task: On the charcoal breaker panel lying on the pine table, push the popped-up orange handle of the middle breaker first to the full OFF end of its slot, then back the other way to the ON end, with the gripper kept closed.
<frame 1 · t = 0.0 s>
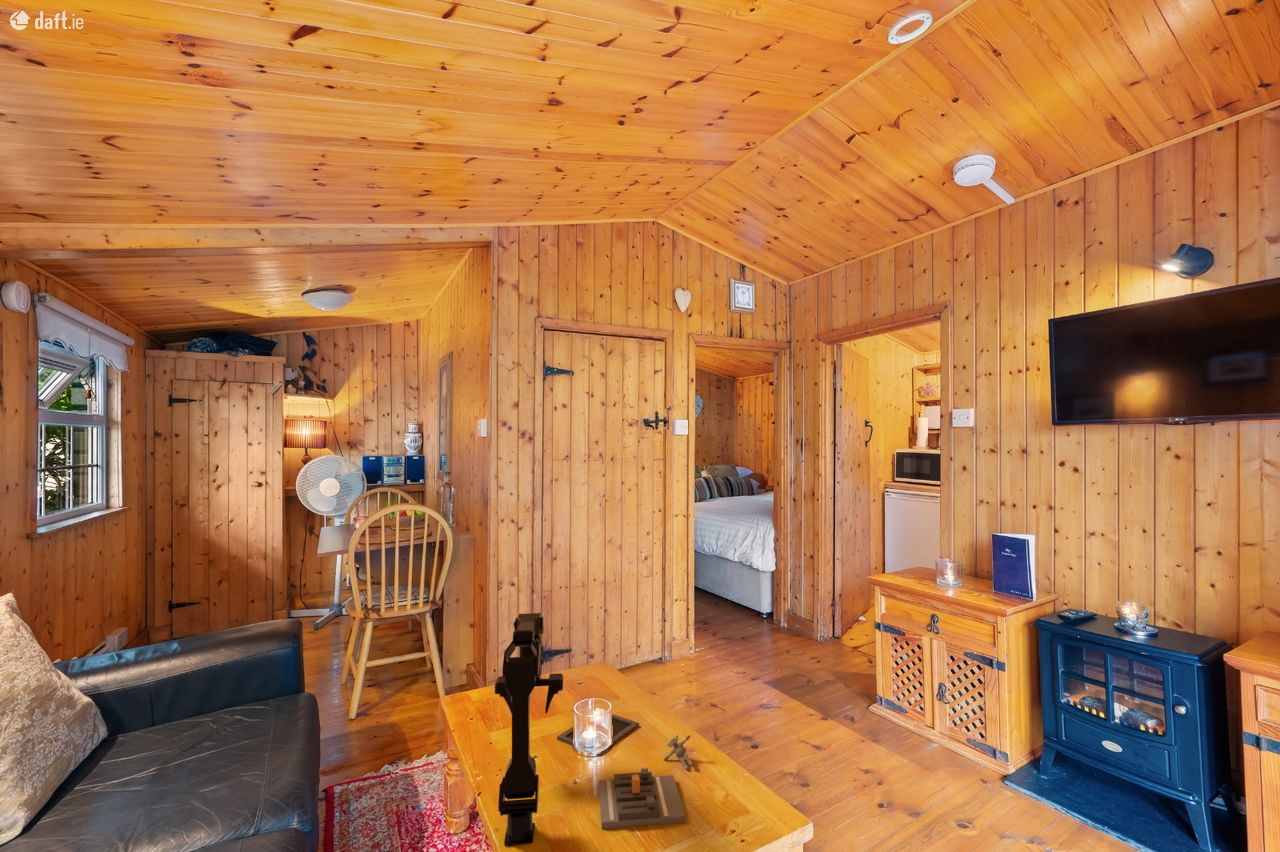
hand: (529, 714, 163), 15 cm above the table, fingers open, 9 cm apart
panel: (639, 803, 146), on the table
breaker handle: (635, 783, 146), point 5 cm above the table, slide at 0.0 cm
grey toy figurine: (682, 762, 165), on the table
picture frame: (598, 735, 181), on the table
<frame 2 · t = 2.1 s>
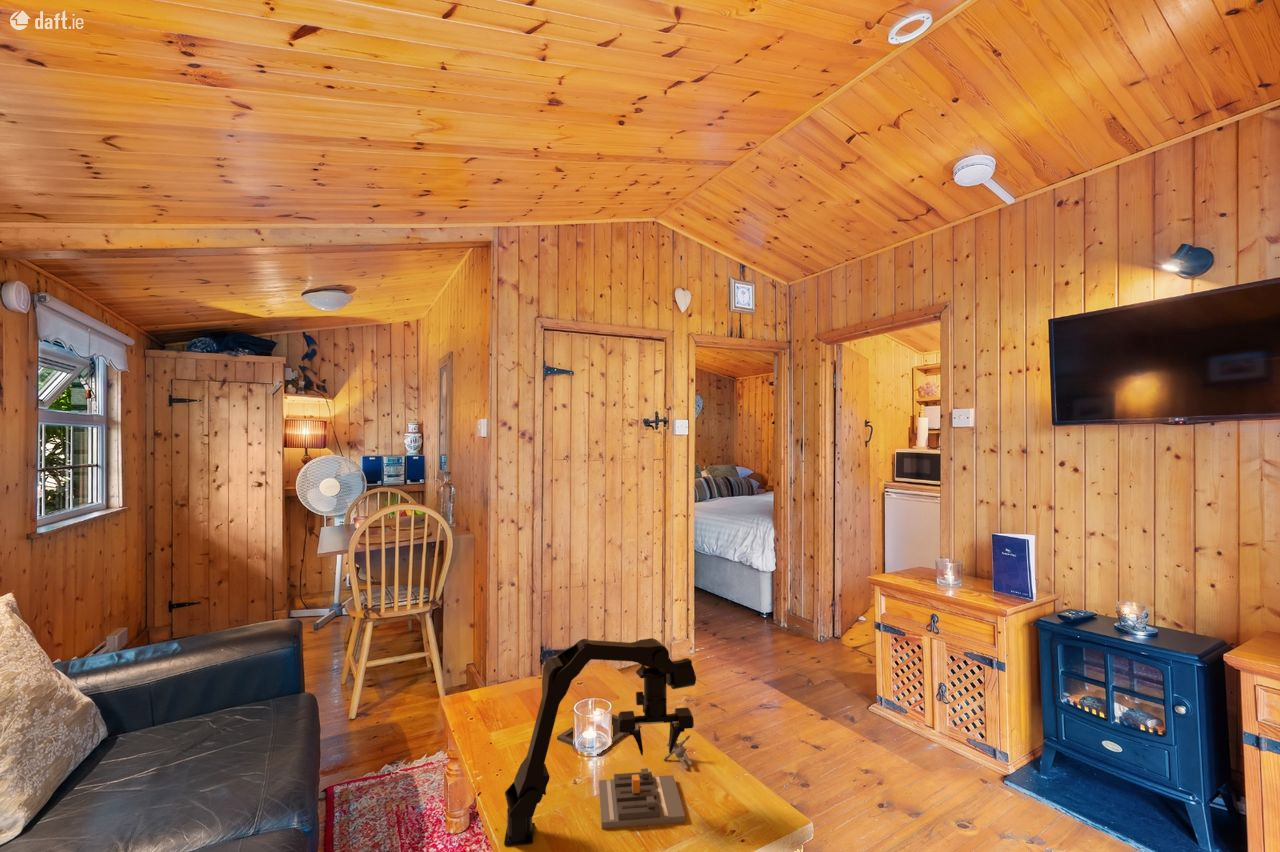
hand: (655, 753, 146), 12 cm above the table, fingers open, 7 cm apart
nothing on the table moved.
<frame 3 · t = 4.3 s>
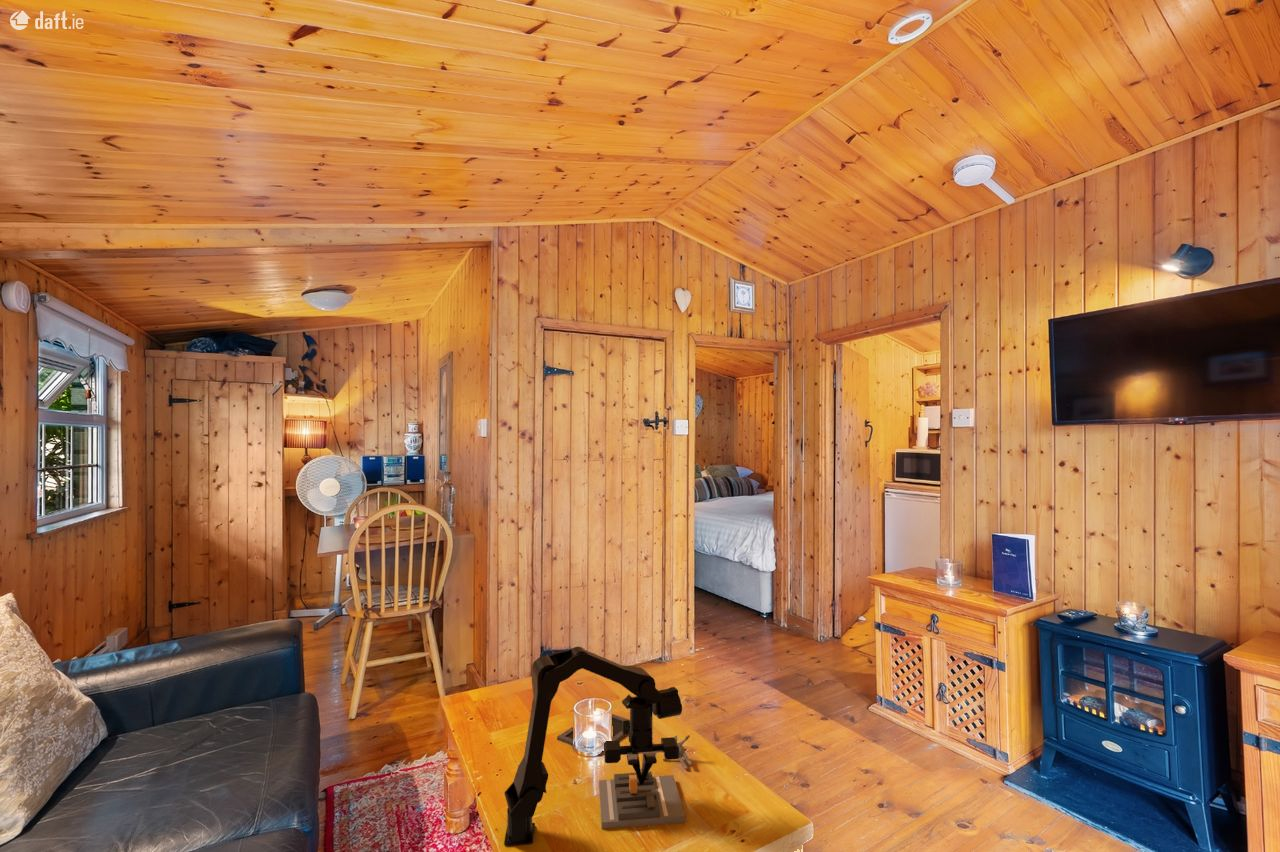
hand: (641, 783, 146), 5 cm above the table, fingers closed
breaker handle: (633, 784, 146), point 5 cm above the table, slide at 0.7 cm, touching gripper
everything else where it was.
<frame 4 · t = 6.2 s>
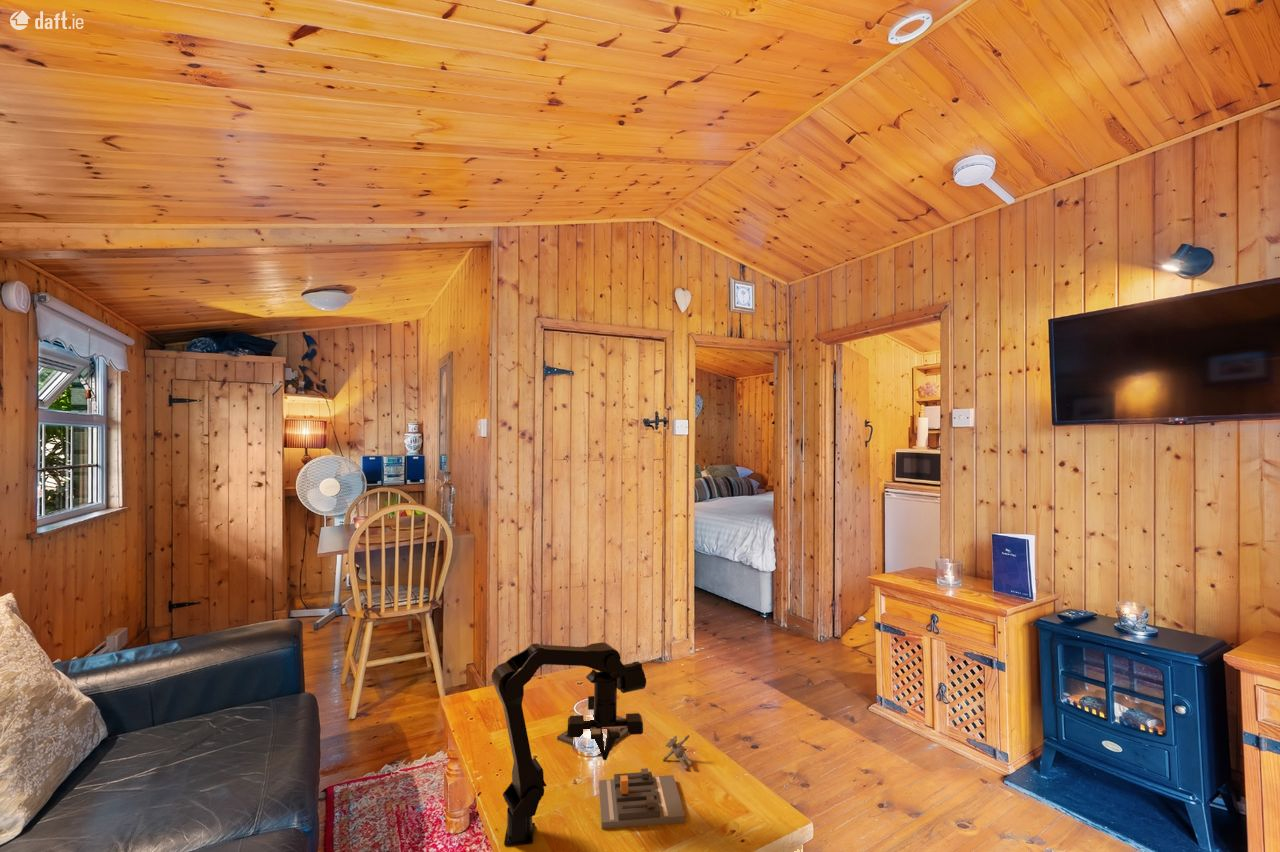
hand: (604, 759, 145), 12 cm above the table, fingers closed
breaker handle: (624, 784, 145), point 5 cm above the table, slide at 2.9 cm
everything else where it was.
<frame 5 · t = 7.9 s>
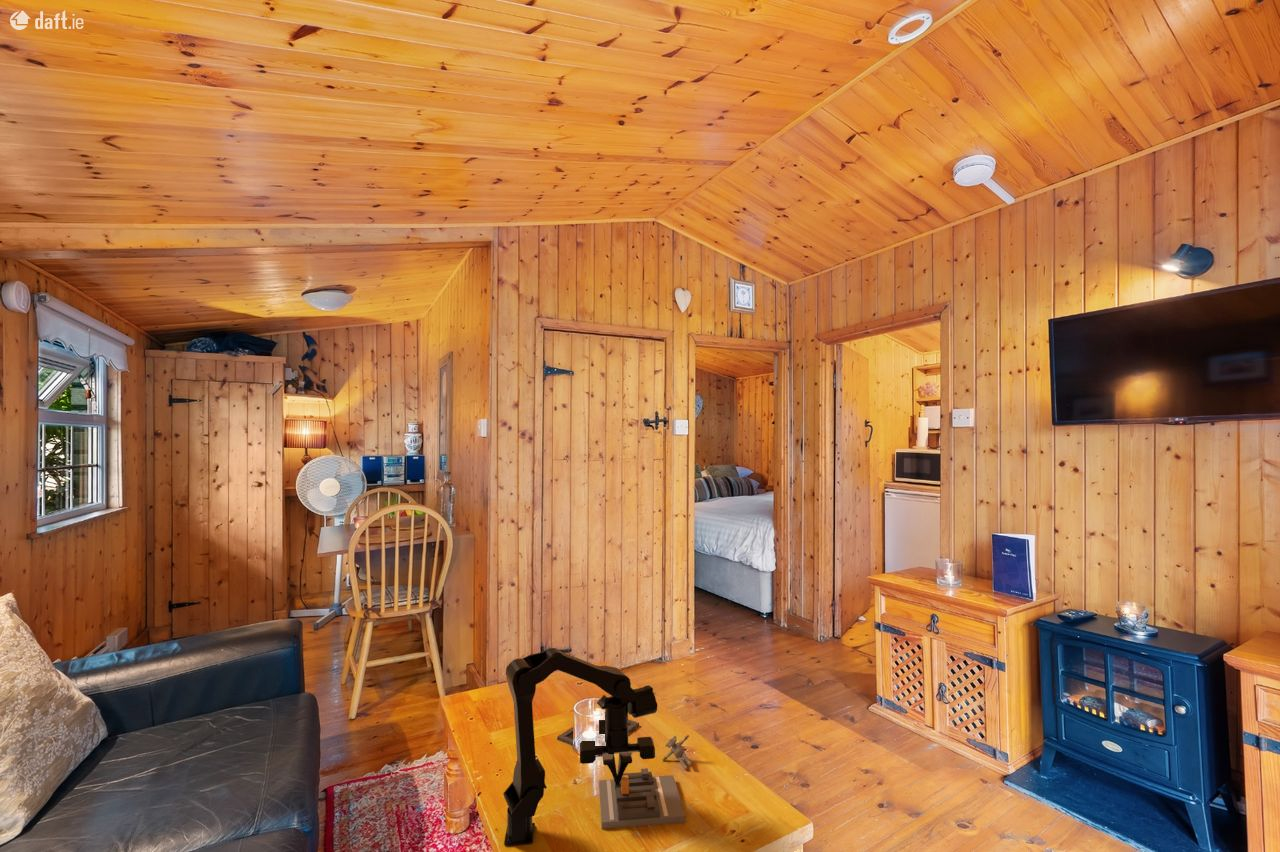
hand: (617, 783, 145), 5 cm above the table, fingers closed
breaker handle: (624, 784, 145), point 5 cm above the table, slide at 2.8 cm, touching gripper
everything else where it was.
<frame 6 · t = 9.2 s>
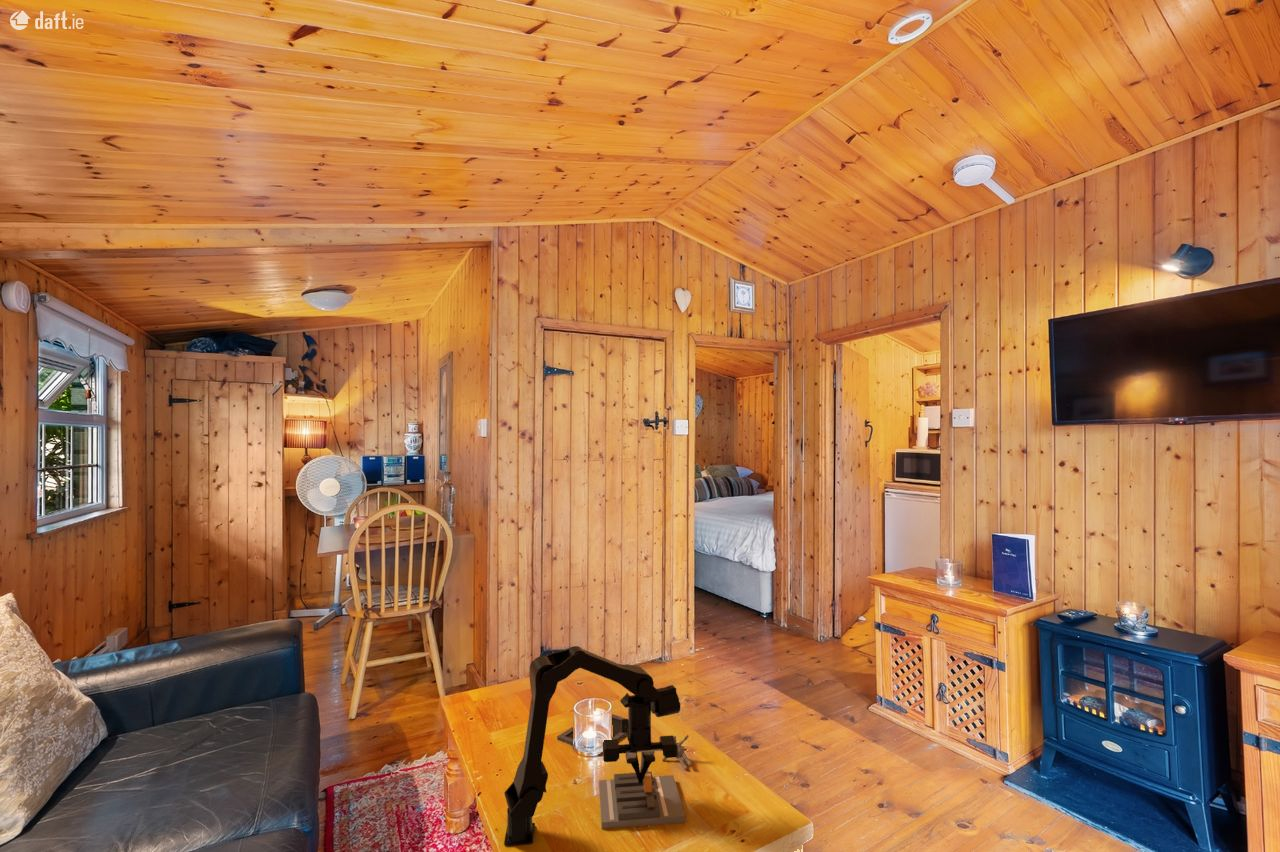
hand: (640, 782, 146), 5 cm above the table, fingers closed
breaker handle: (647, 783, 146), point 5 cm above the table, slide at -3.0 cm, touching gripper
everything else where it was.
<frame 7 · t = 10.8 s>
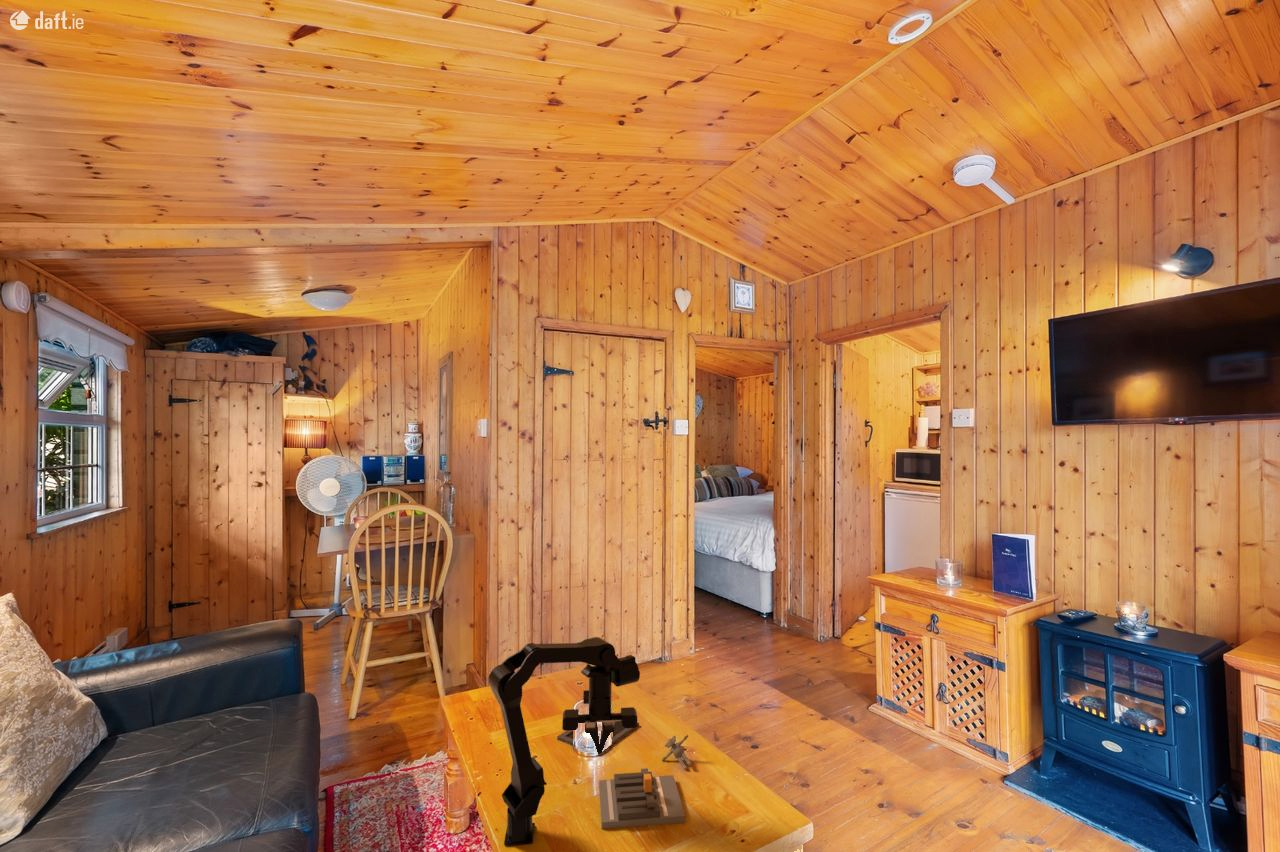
hand: (599, 752, 146), 13 cm above the table, fingers closed
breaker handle: (647, 783, 146), point 5 cm above the table, slide at -3.0 cm
everything else where it was.
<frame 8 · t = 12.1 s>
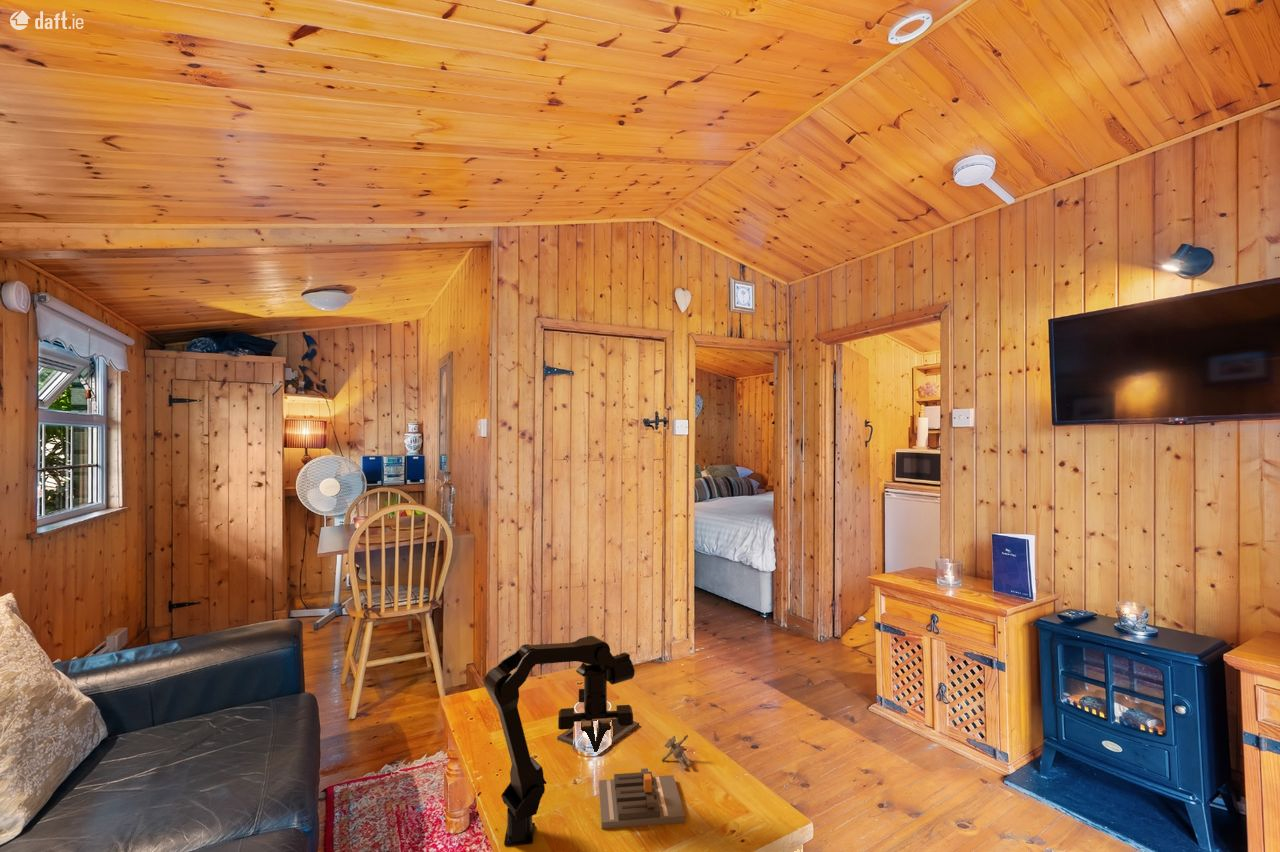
hand: (595, 750, 146), 13 cm above the table, fingers closed
nothing on the table moved.
at the end: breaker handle slide at -3.0 cm; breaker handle touching nothing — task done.
